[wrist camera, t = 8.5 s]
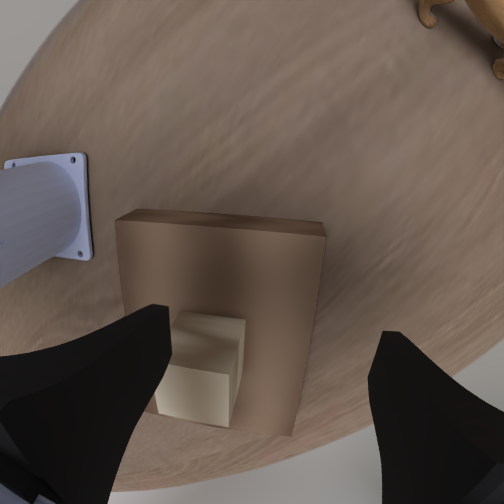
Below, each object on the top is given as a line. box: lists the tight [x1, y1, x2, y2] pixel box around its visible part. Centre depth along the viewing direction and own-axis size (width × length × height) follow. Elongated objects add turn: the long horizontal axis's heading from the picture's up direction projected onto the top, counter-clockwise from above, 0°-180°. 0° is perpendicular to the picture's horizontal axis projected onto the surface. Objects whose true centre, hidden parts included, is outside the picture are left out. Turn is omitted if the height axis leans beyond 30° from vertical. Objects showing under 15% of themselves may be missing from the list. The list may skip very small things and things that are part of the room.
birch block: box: [155, 311, 246, 427], centre depth 17 cm, size 4×4×5 cm
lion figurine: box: [418, 0, 504, 79], centre depth 9 cm, size 15×5×9 cm, turn 73°
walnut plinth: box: [115, 209, 326, 436], centre depth 21 cm, size 12×16×3 cm
